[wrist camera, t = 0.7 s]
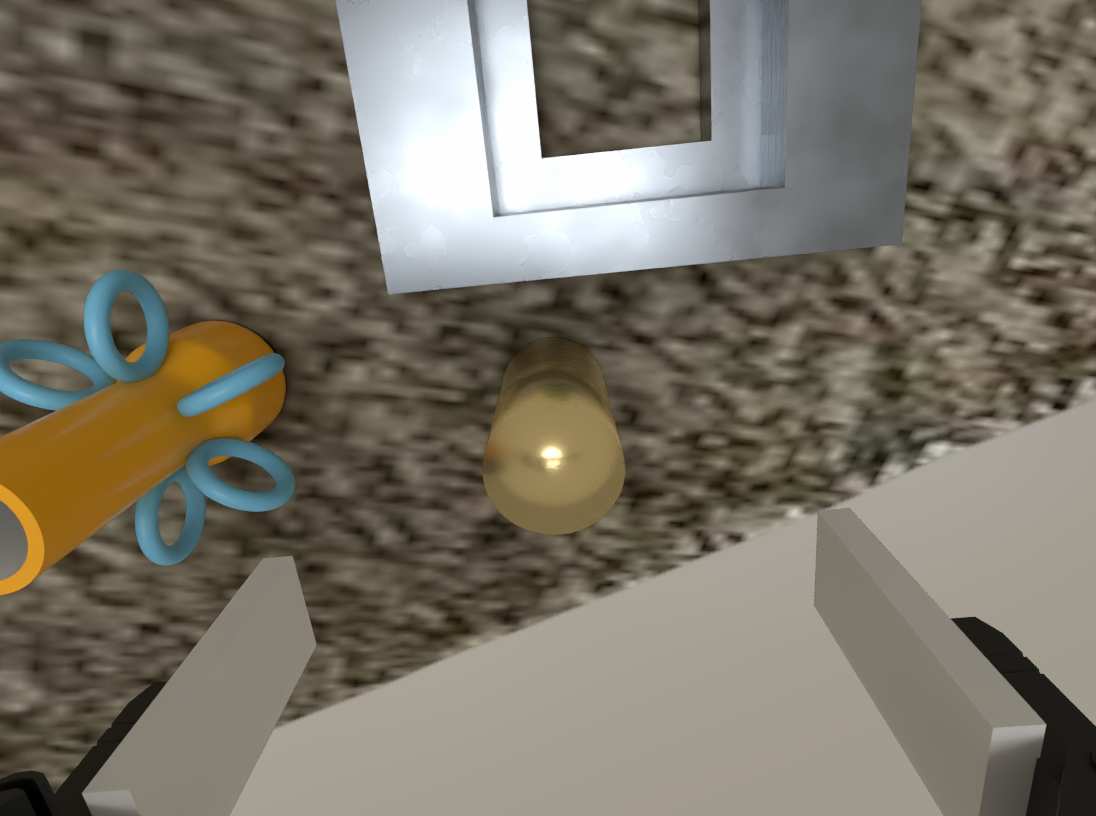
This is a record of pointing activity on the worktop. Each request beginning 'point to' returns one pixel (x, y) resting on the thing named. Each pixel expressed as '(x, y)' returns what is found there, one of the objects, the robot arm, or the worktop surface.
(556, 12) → the worktop surface
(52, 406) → the cylinder
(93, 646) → the worktop surface
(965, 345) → the worktop surface
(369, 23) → the jig
